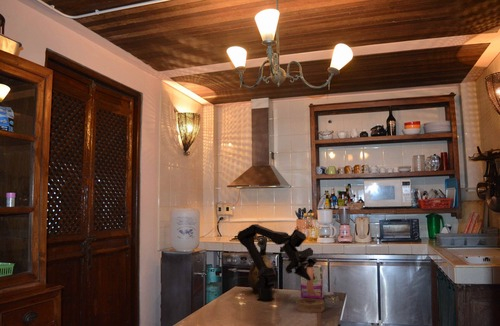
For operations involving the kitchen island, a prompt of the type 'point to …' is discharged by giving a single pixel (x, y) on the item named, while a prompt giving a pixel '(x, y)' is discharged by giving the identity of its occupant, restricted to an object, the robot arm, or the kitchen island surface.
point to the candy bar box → (316, 284)
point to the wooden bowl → (310, 305)
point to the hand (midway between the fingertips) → (312, 279)
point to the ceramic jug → (253, 271)
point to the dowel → (310, 283)
